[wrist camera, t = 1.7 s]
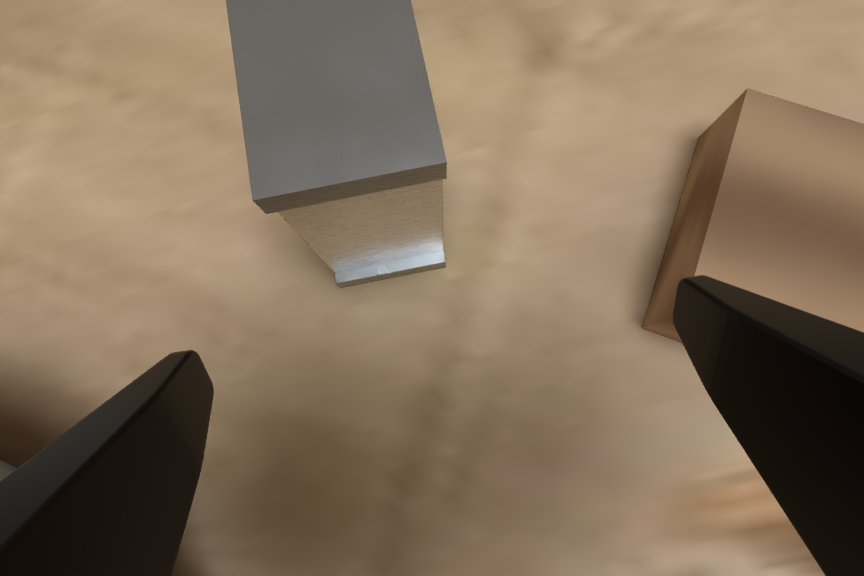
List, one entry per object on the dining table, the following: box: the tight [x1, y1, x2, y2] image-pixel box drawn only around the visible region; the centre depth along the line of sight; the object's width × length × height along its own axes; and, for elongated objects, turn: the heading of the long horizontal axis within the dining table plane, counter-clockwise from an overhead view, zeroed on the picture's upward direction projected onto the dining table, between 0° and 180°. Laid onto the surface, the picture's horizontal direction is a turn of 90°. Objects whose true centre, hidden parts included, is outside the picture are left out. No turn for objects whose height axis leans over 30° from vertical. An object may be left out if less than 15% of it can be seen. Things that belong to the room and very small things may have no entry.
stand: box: [642, 89, 864, 342], centre depth 21 cm, size 10×10×4 cm
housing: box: [226, 0, 447, 288], centre depth 19 cm, size 6×5×11 cm
